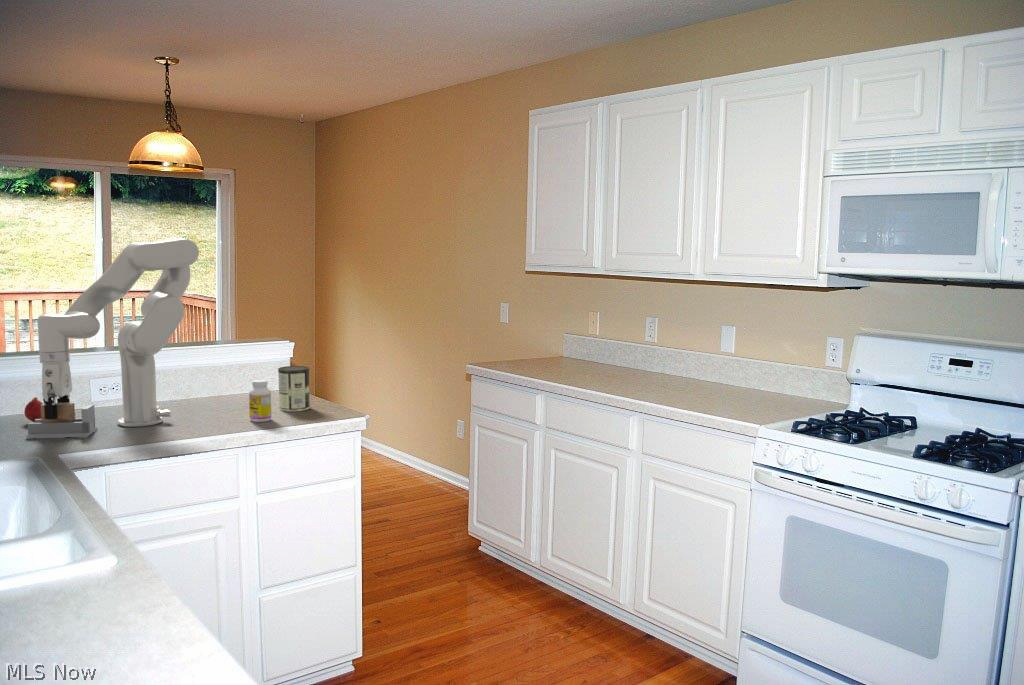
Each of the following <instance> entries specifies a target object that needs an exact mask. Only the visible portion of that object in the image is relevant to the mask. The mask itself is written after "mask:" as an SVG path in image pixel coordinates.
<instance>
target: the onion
mask: <svg viewBox="0 0 1024 685" xmlns="http://www.w3.org/2000/svg"><path fill="white" fill-rule="evenodd" d="M42 404H44V402H42V401H40V400H38V397H37V396H35V397H33V398H32V399H31V400H30V401H29V402H28V403H27V404H26V405H25V406H24V411H23V412H24V416H25V418H26V419H27V420H29V421H31V422H32V423H35V419H41V405H42Z"/></svg>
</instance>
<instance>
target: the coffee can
mask: <svg viewBox="0 0 1024 685" xmlns="http://www.w3.org/2000/svg"><path fill="white" fill-rule="evenodd" d="M277 372H278V404H279V405H278V406H279V408H278V410H279V411H280V412H281V411H282V412H292V413H293V412H294V413H295V412H304V411H307V410H309V409H310V408H311V406H310V404H311V403H310V367H309V366H306V365H288V366H287V365H286V366H281V367H279V368H277Z"/></svg>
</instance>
